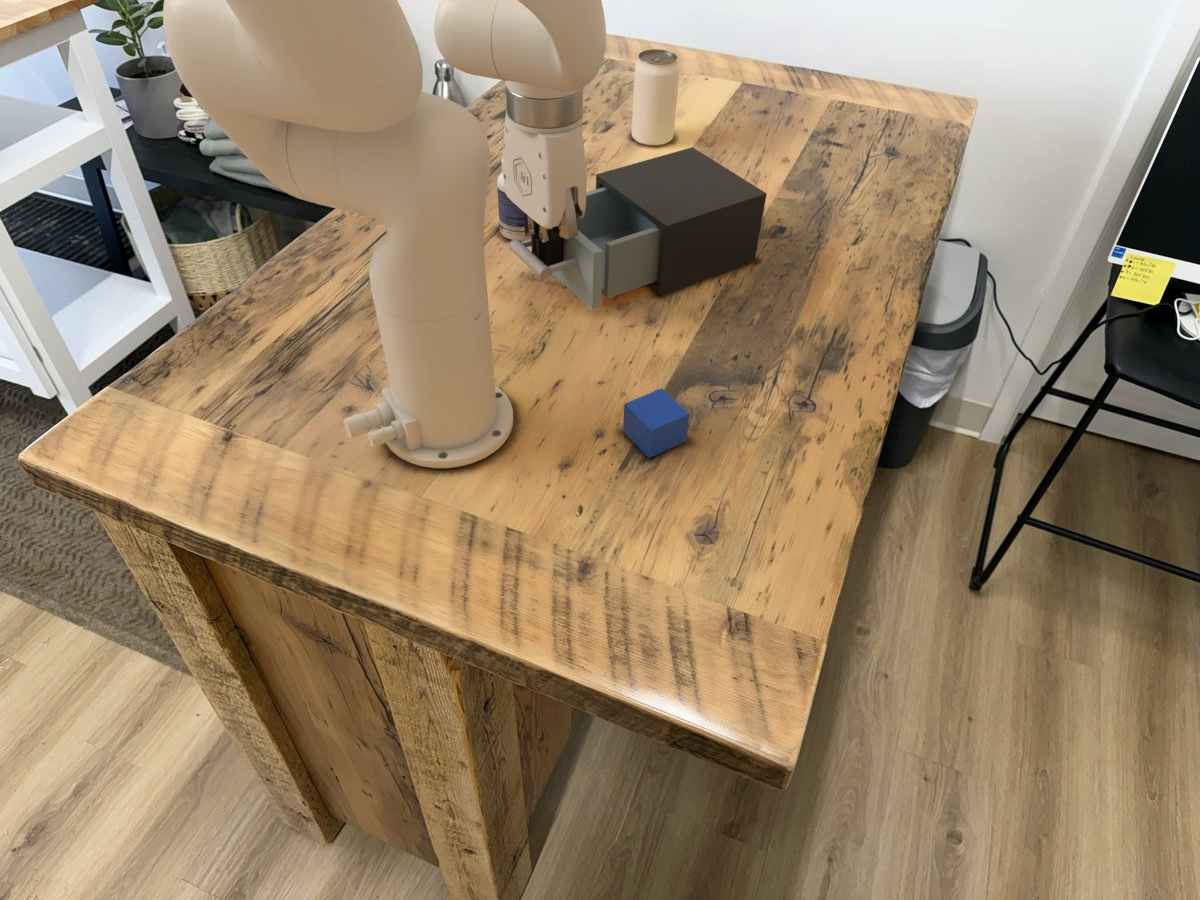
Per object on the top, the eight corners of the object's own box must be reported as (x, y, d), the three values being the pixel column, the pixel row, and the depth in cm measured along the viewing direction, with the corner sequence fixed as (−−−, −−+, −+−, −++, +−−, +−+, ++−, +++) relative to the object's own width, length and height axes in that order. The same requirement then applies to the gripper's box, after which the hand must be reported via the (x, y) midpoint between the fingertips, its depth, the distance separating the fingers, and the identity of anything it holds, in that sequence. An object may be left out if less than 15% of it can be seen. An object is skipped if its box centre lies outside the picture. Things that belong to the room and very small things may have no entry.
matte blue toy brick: (648, 458, 79) (651, 430, 76) (622, 431, 82) (624, 403, 79) (686, 441, 81) (689, 413, 78) (658, 415, 83) (661, 387, 81)
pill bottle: (536, 244, 106) (533, 171, 99) (494, 239, 106) (489, 166, 99) (546, 223, 109) (545, 151, 103) (506, 218, 110) (502, 146, 103)
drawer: (555, 324, 92) (554, 266, 87) (498, 269, 100) (494, 213, 95) (687, 276, 100) (693, 220, 95) (625, 228, 107) (628, 174, 102)
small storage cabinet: (660, 296, 98) (666, 226, 92) (594, 241, 106) (595, 174, 100) (754, 261, 104) (766, 193, 98) (685, 212, 112) (692, 146, 106)
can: (680, 135, 129) (688, 54, 121) (660, 150, 125) (666, 68, 117) (644, 125, 132) (649, 44, 123) (623, 139, 128) (627, 57, 119)
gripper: (475, 84, 85) (487, 244, 98) (551, 140, 76) (553, 308, 89) (539, 71, 88) (542, 228, 101) (619, 123, 79) (612, 287, 92)
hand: (547, 265), depth 95 cm, fingers closed
